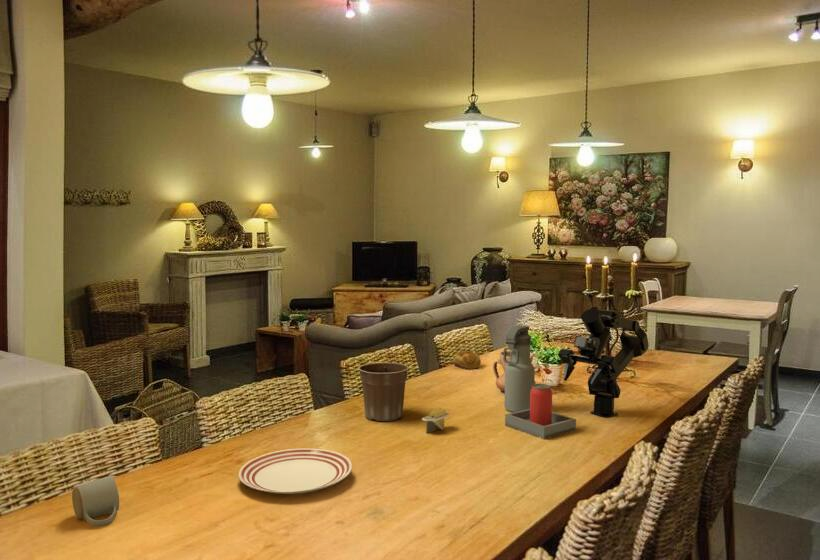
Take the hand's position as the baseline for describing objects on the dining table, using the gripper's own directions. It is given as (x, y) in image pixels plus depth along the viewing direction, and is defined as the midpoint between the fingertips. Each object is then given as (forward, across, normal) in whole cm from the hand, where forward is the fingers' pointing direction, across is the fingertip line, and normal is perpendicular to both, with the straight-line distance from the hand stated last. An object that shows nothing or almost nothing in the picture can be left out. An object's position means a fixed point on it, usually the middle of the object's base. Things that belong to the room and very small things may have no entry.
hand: (577, 382), depth 211 cm
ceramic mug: (+101, -41, -81) cm, 135 cm away
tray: (+16, -7, +3) cm, 18 cm away
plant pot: (+34, -50, -14) cm, 62 cm away
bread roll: (-19, -76, +39) cm, 88 cm away
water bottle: (+8, -23, +12) cm, 27 cm away
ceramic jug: (-5, -38, +25) cm, 46 cm away
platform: (+34, -28, -14) cm, 46 cm away
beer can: (+16, -7, +2) cm, 17 cm away
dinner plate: (+71, -28, -51) cm, 91 cm away
